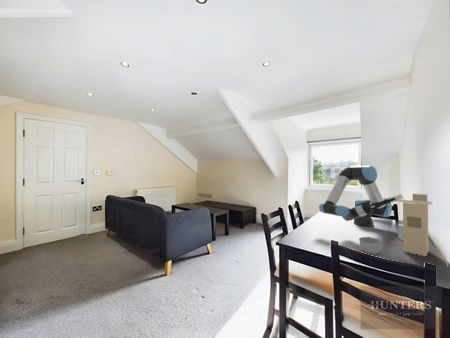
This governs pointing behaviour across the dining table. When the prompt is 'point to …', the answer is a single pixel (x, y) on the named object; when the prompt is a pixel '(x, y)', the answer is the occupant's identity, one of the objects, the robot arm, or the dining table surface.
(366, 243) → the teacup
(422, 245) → the carton
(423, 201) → the flap strip
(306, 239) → the dining table surface
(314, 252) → the dining table surface
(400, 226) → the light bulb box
